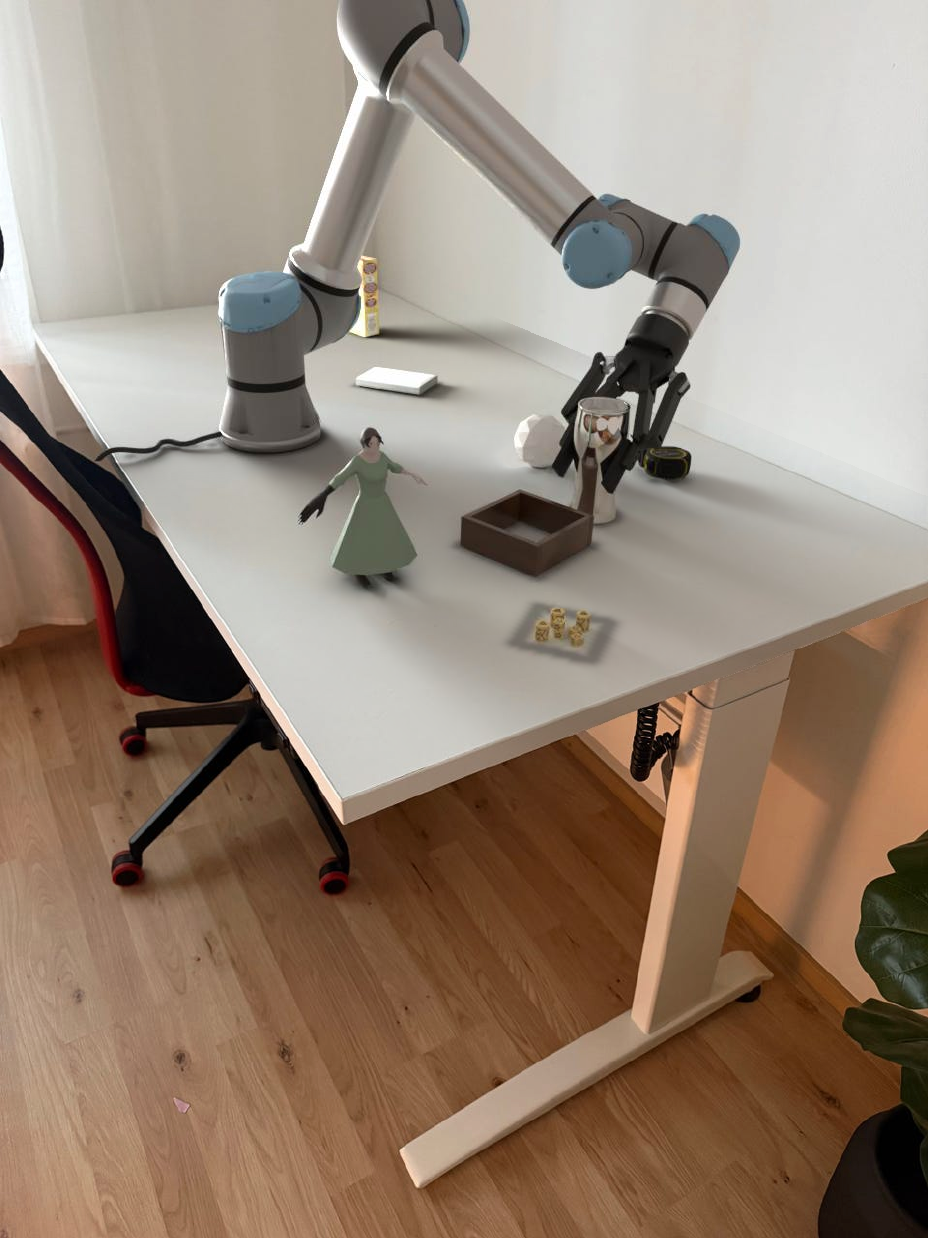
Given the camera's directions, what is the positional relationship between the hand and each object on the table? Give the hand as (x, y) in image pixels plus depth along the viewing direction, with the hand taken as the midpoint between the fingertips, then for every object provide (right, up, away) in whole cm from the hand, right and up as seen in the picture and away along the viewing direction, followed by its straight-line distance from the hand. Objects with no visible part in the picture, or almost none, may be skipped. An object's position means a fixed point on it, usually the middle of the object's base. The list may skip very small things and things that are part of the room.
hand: (581, 480), depth 120 cm
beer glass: (+2, -4, +6) cm, 7 cm away
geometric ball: (-4, +5, +20) cm, 21 cm away
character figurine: (-26, -13, -11) cm, 31 cm away
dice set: (-5, -19, -20) cm, 28 cm away
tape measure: (+14, +3, +18) cm, 23 cm away
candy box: (-37, +43, +81) cm, 99 cm away
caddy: (-7, -9, -3) cm, 12 cm away
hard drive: (-27, +25, +51) cm, 63 cm away
